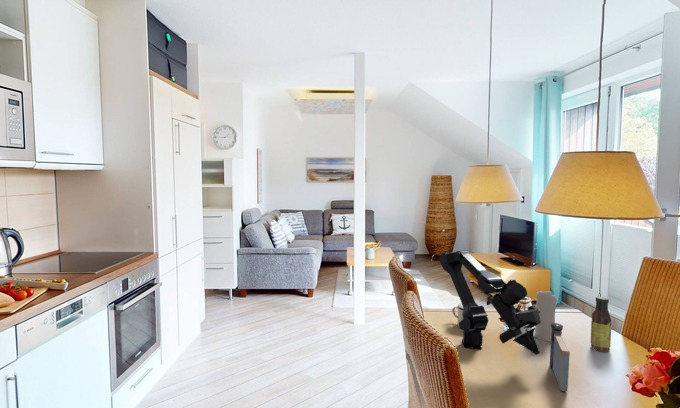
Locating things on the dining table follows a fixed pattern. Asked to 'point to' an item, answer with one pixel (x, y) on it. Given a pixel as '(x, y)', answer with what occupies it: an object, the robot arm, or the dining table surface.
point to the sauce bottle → (601, 326)
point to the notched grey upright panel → (545, 315)
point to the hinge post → (555, 329)
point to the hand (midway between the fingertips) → (538, 353)
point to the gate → (561, 362)
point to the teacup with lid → (460, 312)
